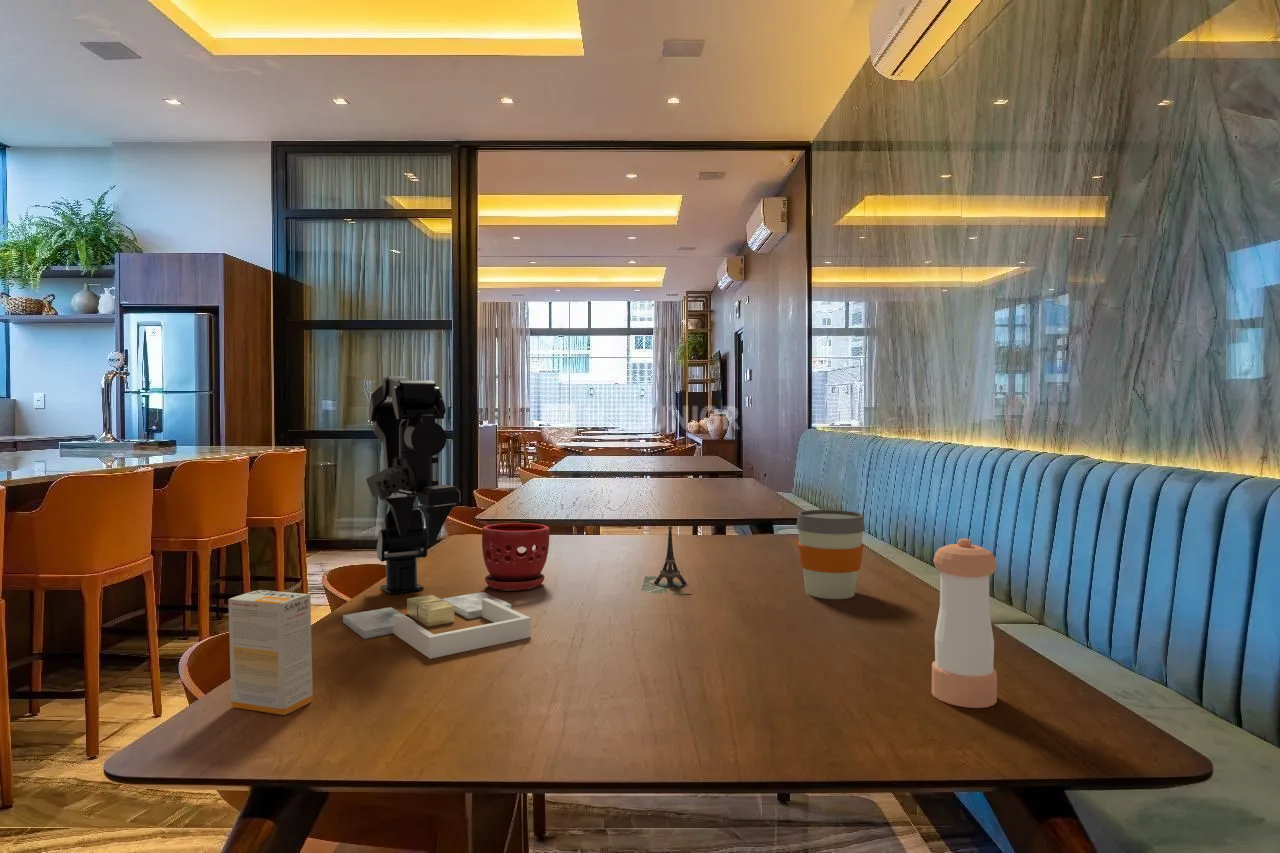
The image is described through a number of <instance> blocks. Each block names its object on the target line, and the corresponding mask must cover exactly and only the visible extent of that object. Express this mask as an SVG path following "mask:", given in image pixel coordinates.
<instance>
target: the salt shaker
mask: <svg viewBox="0 0 1280 853" xmlns="http://www.w3.org/2000/svg"><path fill="white" fill-rule="evenodd" d="M996 561H997V560H996V557H995V555H994V554H993V552H992V551H991V550H989V549H986V548H985V547H982V546H980V545H975V544H973V542H972V540H970V539H969V538H960V539H958V541H957V543H950V544H947V545H944V546H941V547H939V548H938V549H937V550H936V552H935V553H934V556H933V563H934V566H935V568H936V570H938V571H939V572H940V575H939V578H940V580H939V581H940V586H939V610H938V616H937V619H936V620H937V622H936V627H935V632H934V659H935V660H934V661H932V663H931V694H932V696H933V697H934V698H936V699H937V700H939V701H941V702H943V703H946V704H949V705H952V706H955V707H962V708H969V709H971V708H972V709H981V708H982V709H983V708H989V707H991V706H992V707H993V706H995V705H996V703H997V702H998V700H997V698H998V697H997V696H998V693H997V692H998V689H997V688H998V687H997V686H998V674H997V670H996V669H995V668H994V664H995V662H994V659H995V655H994V654H995V640H994V634H993V626H992V621H991V615H990V576H992V575H993V574H994V573H995V571H996V569H997V566H998V565H997V562H996Z"/></svg>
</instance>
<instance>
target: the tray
mask: <svg viewBox="0 0 1280 853" xmlns="http://www.w3.org/2000/svg"><path fill="white" fill-rule="evenodd" d="M400 613H401V612H400ZM400 613H397V614H393V633H392V634H394V635H395V636H396V637H398V638H399V639H400V640H402V641H404V642H405V643H407V644H408V645H409V646H411V647H412V648H414V649H416V651H418V652H420V653H421V654H423V655H424V656H425V657H426V658H428V659H430V660H431V659H436V658H439V657H440V658H441V657H445V656H450V655H454V654H458V653H463V652H467V651H468V652H469V651H472V650H477V649H481V648H485V647H491V646H496V645H500V644H505V643H509V642H515V641H519V640H524V639H528V638H531V637H532V632H531V631H532V629H531V625H532V623H531V622H532V620H531V619H532V618H531V617H530V616H528V615H526V614H524V613H521V612H519V611H517V610H514V609H512V608H511V609H510V608H508V607H506V606H504V605H501V604H499V603H497V602H495V601H493V600H490V599H488V598H485V599H482V617H481V618H483V619H486V620H488V621H489V622H492V623H486V624H481V625H476V626H471V627H466V628H465V627H464V628H461V629H456V630H450V631H446V632H445V631H444V632H440V633H439V632H438V633H435V634H434V633H432V632H431V631H430V630H427V629H425V627H422V626H421V625H419V624H418V623H416V621H415V622H413V621H414V620H413V621H411V620H410V619H411V618H410V619H408V618H409V617H408V618H406V617H405V616H406V615H405V616H403V615H404V614H403V613H402V614H403V615H402V614H400Z"/></svg>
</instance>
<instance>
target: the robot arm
mask: <svg viewBox="0 0 1280 853" xmlns="http://www.w3.org/2000/svg"><path fill="white" fill-rule="evenodd" d="M388 397H389V398H388ZM390 398H391V399H390ZM446 411H447V409H446V404H445V400H444V397H443V393H442V392H441V390H440V387H439V386H437V384H436V382H435V380H433V379H432V380H429V379H427V380H425V379H411V378H410V377H407V376H404V375H403V376H399V375H398V376H395V375H394V376H391V375H389V376H388V375H387V376H384V377H383V378H382V382H381V385H380V386H379V387H378V388H377V389H376V390H374V392H372V394H371V395H370V399H369V406H368V420H369V422H370V423H371V422H372V430H373V433H374V435H376V437H377V438H378V439H379V441H380V442H381V443H382V448H383V462H384V469H383V470H381V471H379V472H377V473H375V474H373V475H371V476H369V477H367V478H366V479H365V480H366V483H367V486H368V489H369V491H370V495H371V496H372V497H373V498H374V497H378V499H379V500H380V501H382V502H383V503H384V504H386V505H387V506H388V511H387V514H386V515H385V518H384V519H383V521H382V524H381V529H380V530H379V534H378V538H377V544H376V556H377V559H378V560H379V562H385V572H386V573H385V574H386V576H385V577H386V580H385V582H386V584H382V585H379V586H380V587H379V588H380V589H381V590H383V591H384V592H385V593H388V594H390V595H395V594H402V593H407V592H408V593H409V592H414V591H421V590H424V589H425V588H424V586H423V585H422V584H419V583H418V558H419V559H420V558H425V559H426V557H427V556H428V545H432V544H435V543H436V541H437V538H438V536H439V535H440V533H441V530H442V529H443V526H444V524H445V522H446V520H447V519H448V517H449V515H450V513H451V511H452V510H453V508H456V505H457V504H460V503H461V490H460V489H459V488H458V487H457V486H454V485H447V484H439V480H438V479H434V464H438V463H439V456H436V455H439V454H440V453H441V452H442V451H443V450H444V448H445V446H446V445H447V434H446V432H445V429H444V428H443V426H441V424H439V423H437V422H436V420H444V419H445V414H446ZM416 497H417V500H418V502H419V504H420V505H417V508H416V507H415V501H416ZM423 514H424V520H423ZM424 521H425V525H424Z"/></svg>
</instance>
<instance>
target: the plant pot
mask: <svg viewBox="0 0 1280 853" xmlns="http://www.w3.org/2000/svg"><path fill="white" fill-rule="evenodd" d="M481 546H482V548H481V549H482V556H483V561H484V565H485V567H486V570H487V571H488V573H489V574H487V575H486V576H485V577H484V581H485V583H486V584H487V585H488V587H490V588H492V589H496V590H499V591H503V592H510V591H514V592H515V591H525V590H532V589H535V588H537V587H538V586H541V584H543V582H544V581H545V575H544V574H543V573H542V571H543V569H544V567H545V565H546V563H547V560H548V559H547V558H548V553H549V547H550V527H549V526H547V525H545V524H539V523H530V522H528V523H527V522H514V523H513V522H507V523H493V524H489V525H484V526H483V527H482V530H481ZM534 546H535V549H534V550H533V547H534ZM521 547H523V548H525V551H524V552H520V551H519V550H518V549H519V548H521Z"/></svg>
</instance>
